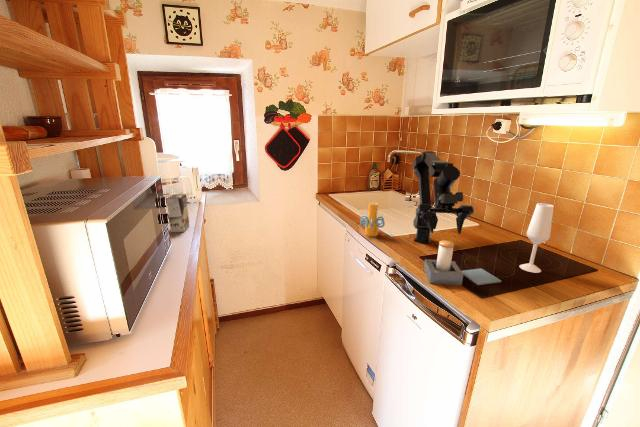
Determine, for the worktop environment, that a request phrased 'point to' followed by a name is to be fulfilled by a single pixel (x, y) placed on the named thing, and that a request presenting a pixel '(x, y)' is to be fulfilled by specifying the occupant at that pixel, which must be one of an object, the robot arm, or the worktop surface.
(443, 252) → the plug
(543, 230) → the champagne flute
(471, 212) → the robot arm
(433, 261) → the frame
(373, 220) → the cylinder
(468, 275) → the pad
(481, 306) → the worktop surface
